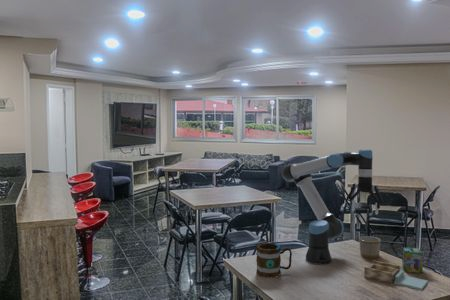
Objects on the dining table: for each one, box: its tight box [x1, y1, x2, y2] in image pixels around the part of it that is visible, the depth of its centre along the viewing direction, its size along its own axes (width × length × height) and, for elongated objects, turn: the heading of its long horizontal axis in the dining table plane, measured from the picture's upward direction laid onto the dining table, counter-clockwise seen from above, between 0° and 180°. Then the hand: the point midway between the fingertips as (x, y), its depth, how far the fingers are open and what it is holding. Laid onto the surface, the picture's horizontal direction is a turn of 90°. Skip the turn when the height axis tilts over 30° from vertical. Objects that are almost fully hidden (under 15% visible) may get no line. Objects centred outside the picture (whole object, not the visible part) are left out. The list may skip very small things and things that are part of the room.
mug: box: [256, 242, 293, 279], centre depth 213 cm, size 20×14×15 cm
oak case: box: [363, 259, 401, 284], centre depth 208 cm, size 14×14×5 cm
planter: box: [358, 235, 381, 259], centre depth 241 cm, size 13×13×10 cm
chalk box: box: [401, 242, 424, 274], centre depth 216 cm, size 9×9×15 cm
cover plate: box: [393, 269, 429, 291], centre depth 199 cm, size 13×12×4 cm
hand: (364, 212), depth 224 cm, fingers open, 13 cm apart
